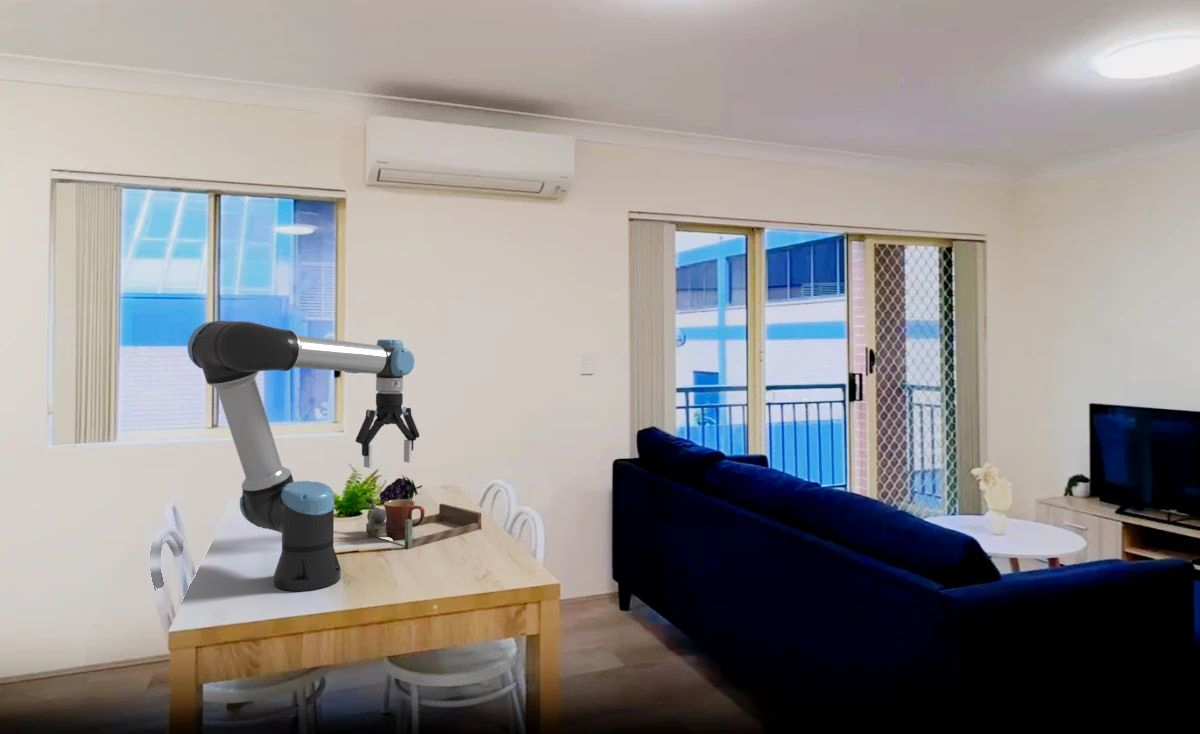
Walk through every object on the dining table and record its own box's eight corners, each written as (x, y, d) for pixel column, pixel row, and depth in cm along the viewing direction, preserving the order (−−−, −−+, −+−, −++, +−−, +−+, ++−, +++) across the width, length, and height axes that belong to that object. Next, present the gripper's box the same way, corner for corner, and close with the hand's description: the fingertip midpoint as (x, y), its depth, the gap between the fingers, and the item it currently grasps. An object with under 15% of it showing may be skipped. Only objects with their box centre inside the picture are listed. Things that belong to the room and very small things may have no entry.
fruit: (382, 510, 259) (423, 496, 265) (385, 512, 250) (427, 498, 255) (374, 482, 260) (415, 469, 265) (377, 483, 250) (419, 470, 256)
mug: (378, 540, 210) (378, 505, 210) (390, 532, 219) (390, 498, 219) (418, 542, 209) (418, 507, 209) (428, 534, 218) (429, 500, 217)
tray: (408, 549, 204) (408, 514, 204) (355, 532, 219) (356, 500, 219) (481, 528, 226) (481, 497, 226) (429, 515, 241) (429, 485, 241)
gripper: (358, 394, 200) (357, 471, 201) (432, 391, 219) (430, 461, 220) (343, 393, 205) (342, 467, 206) (416, 390, 224) (415, 458, 225)
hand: (388, 464), depth 213 cm, fingers open, 13 cm apart
